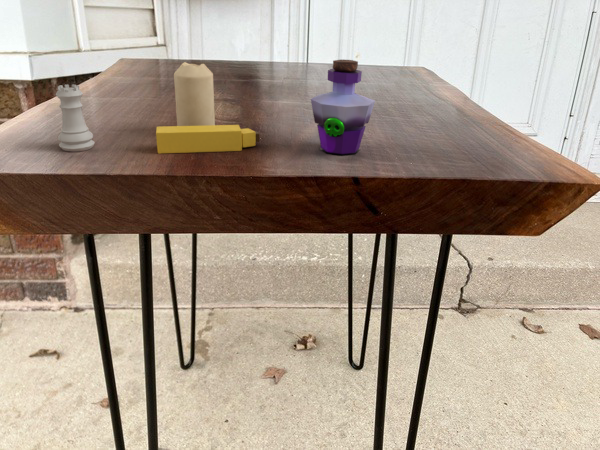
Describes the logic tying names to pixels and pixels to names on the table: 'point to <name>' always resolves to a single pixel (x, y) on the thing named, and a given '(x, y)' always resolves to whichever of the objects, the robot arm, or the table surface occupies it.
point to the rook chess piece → (73, 121)
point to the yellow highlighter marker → (204, 138)
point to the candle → (194, 95)
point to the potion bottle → (342, 111)
